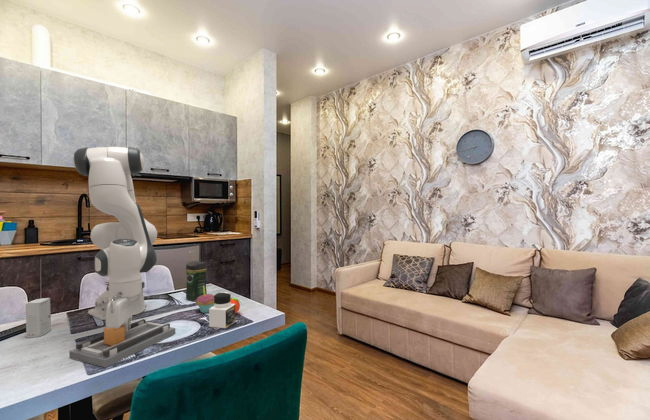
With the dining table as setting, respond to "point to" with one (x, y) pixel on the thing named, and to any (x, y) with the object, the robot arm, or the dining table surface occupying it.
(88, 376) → the dining table surface
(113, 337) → the block
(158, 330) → the pair of dark pieces
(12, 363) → the dining table surface
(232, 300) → the clementine
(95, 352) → the panel
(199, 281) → the coffee jar
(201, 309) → the cupcake
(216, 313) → the medicine bottle
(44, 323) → the skincare box
